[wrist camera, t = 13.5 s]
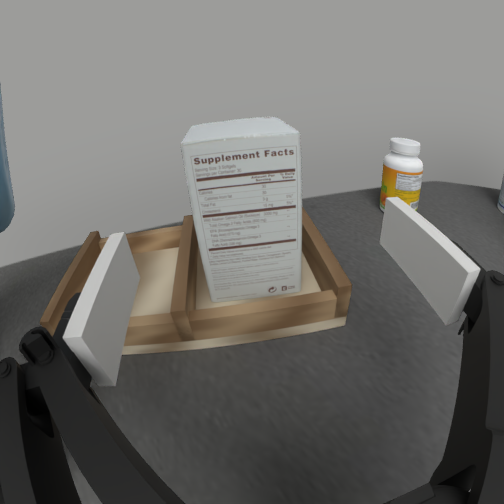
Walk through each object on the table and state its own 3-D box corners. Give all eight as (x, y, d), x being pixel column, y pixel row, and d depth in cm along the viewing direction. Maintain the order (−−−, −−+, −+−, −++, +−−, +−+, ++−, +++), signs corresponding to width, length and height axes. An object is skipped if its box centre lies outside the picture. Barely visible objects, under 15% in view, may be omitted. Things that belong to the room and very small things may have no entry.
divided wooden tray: (62, 355, 20) (39, 322, 17) (101, 261, 31) (90, 232, 29) (344, 325, 21) (352, 284, 19) (299, 234, 33) (298, 201, 30)
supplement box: (211, 254, 29) (190, 124, 22) (286, 245, 29) (280, 115, 22) (208, 306, 23) (176, 141, 16) (303, 294, 23) (303, 128, 16)
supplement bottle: (377, 200, 39) (382, 134, 34) (412, 204, 37) (420, 139, 32) (380, 217, 35) (387, 142, 29) (419, 221, 33) (430, 148, 28)
